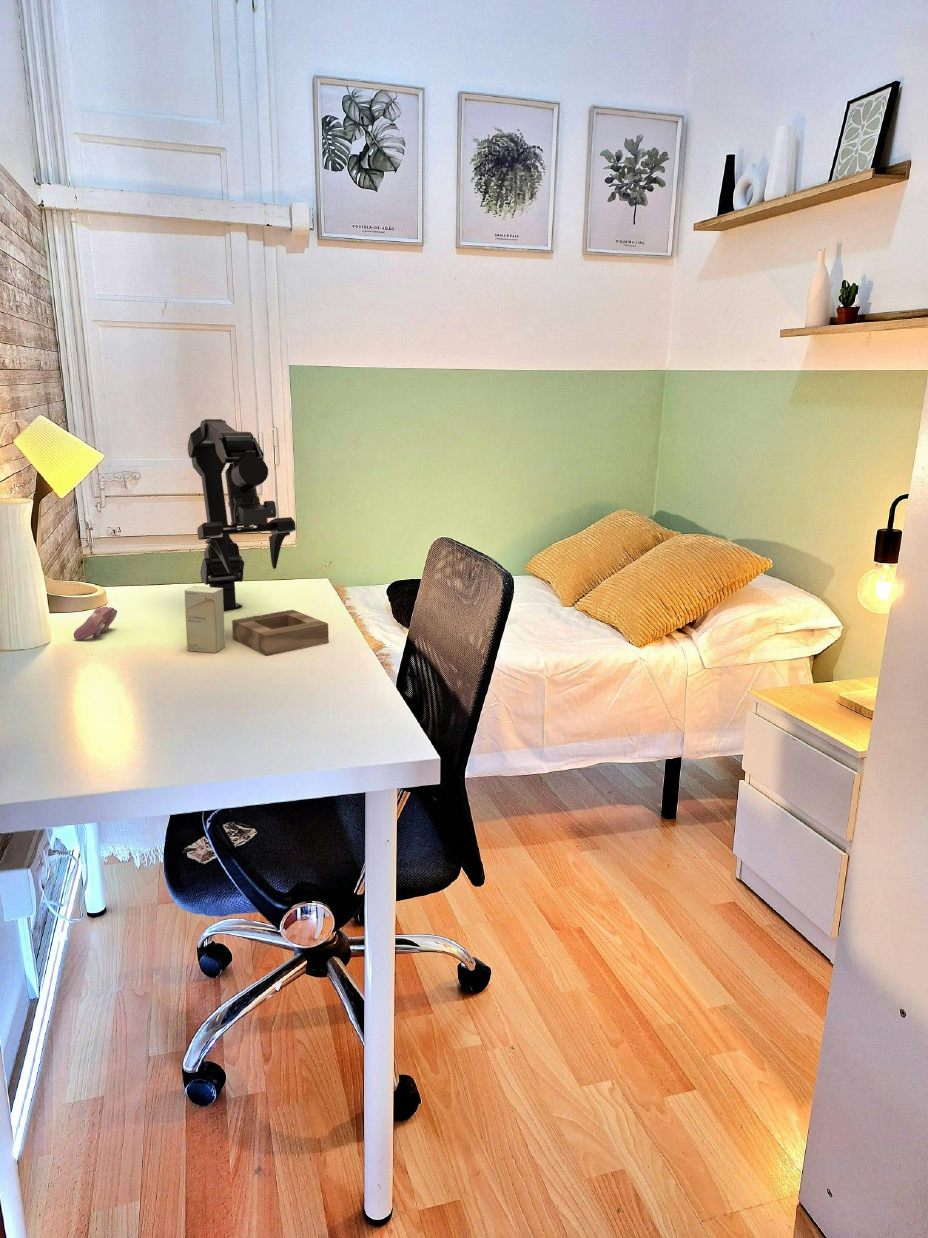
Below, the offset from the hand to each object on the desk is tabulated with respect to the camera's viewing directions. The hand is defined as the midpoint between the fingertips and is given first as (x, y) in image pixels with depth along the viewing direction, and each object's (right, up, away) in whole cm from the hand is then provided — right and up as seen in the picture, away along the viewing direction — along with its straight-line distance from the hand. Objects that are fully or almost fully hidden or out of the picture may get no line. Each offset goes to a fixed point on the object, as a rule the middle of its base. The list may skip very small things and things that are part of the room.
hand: (252, 570), depth 170 cm
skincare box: (-8, -16, -5) cm, 18 cm away
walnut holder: (+6, -14, +1) cm, 15 cm away
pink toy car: (-33, -13, +3) cm, 36 cm away
